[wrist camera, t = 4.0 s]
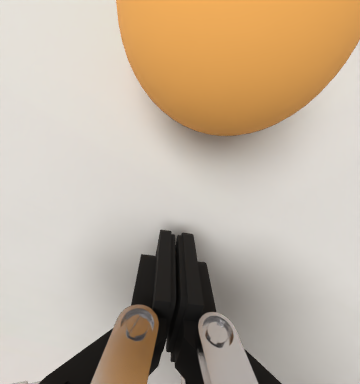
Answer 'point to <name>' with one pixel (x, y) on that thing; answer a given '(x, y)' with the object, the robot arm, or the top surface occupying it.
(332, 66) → the ball
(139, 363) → the robot arm
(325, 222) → the top surface
